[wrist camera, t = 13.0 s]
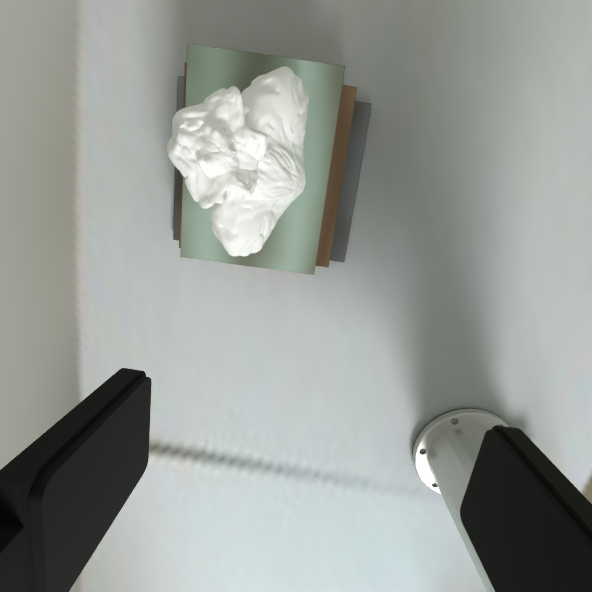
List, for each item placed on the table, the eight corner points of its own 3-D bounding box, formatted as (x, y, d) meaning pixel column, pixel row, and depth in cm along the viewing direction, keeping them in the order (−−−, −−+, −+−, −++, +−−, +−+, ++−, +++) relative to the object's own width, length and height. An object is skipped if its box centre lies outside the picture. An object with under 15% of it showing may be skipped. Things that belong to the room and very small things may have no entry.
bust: (284, 94, 26) (144, -9, 17) (367, 107, 22) (244, -18, 13) (239, 241, 29) (103, 222, 20) (305, 276, 25) (172, 271, 16)
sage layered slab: (370, 105, 32) (394, 73, 24) (343, 260, 36) (356, 279, 28) (180, 78, 32) (136, 36, 23) (176, 238, 36) (137, 251, 27)
